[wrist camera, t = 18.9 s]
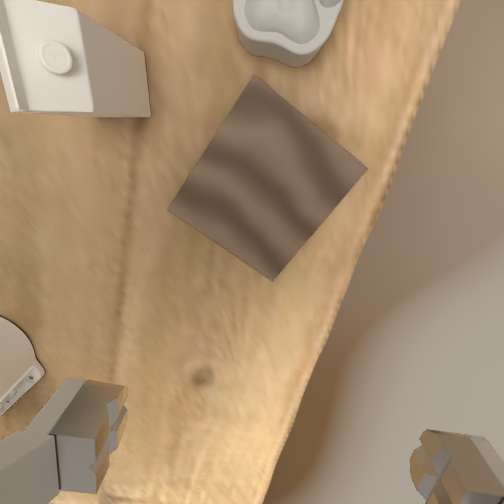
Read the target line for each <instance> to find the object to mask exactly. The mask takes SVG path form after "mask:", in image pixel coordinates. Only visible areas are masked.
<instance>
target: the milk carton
mask: <svg viewBox="0 0 504 504" xmlns="http://www.w3.org/2000/svg"><path fill="white" fill-rule="evenodd" d="M0 72H1V76H2V79H3V83H4V87H5V91H6V95H7V99H8V103H9V107H10V110H11V112H17V113H33V114H50V115H66V116H82V117H151V111H150V101H149V92H148V83H147V74H146V64H145V56H144V52H143V51H141V50H139V49H138V48H136V47H135V46H133V45H132V44H130V43H128V42H127V41H125V40H124V39H122V38H121V37H119V36H117V35H116V34H114V33H113V32H111V31H110V30H108V29H107V28H105V27H103V26H102V25H100V24H99V23H97V22H96V21H94V20H92V19H91V18H89V17H88V16H86V15H85V14H83V13H81V12H80V11H78V10H76V9H75V8H71V7H66V6H61V5H56V4H51V3H46V2H41V1H36V0H0Z"/></svg>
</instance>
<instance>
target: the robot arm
mask: <svg viewBox="0 0 504 504" xmlns="http://www.w3.org/2000/svg"><path fill="white" fill-rule="evenodd" d="M44 374H45V371H44V369H43V368H42V366H41V365H40V363H39V362H38V361H37V359H36V357H35V353H34V349H33V347H32V345H31V343H30V341H29V339H28V338H27V336H26V335H25V334H24V333H23V332H22V331H21V330H20V329H19V328H18V327H17V326H15V325H14V324H13V323H11V322H9V321H8V320H6V319H4V318H2V317H0V415H2V414H3V413H4V412H5V411H6V410H7V409H8V408H9V407H11V406H12V405H13V404H14V403H15V402H16V401H17V400H18V399H19V398H20V397H21V396H22V395H23V394H24V393H26V392H27V391H28V390H29V389H30V388H31V387H32V386H33V385H34V384H35V383H36V382H37V381H38V380H39V379H41V378H42V377H43V376H44ZM127 397H128V395H127V387H126V386H121V385H115V384H109V383H103V382H98V381H92V380H84V379H78V378H72V377H69V378H67V379H66V380H64V381H63V382H62V383H61V385H60V386H59V387H58V388H57V390H56V391H55V392H54V393H53V395H52V396H51V397H50V399H49V400H48V401H47V402H46V404H45V405H44V406H43V407H42V409H41V410H40V411H39V413H38V414H37V415H36V416H35V418H34V419H33V420H32V421H31V423H30V424H29V425H28V426H27V428H26V429H25V430H24V431H16V432H14V433H12V434H10V435H9V436H7V437H5V438H3V439H2V440H0V504H48V503H49V502H50V501H51V500H52V499H53V498H54V497H56V496H57V495H58V494H59V490H60V491H70V492H80V493H90V494H97V492H98V490H99V487H100V485H101V483H102V481H103V479H104V476H105V474H106V472H107V470H108V468H109V454H111V453H112V452H113V451H115V450H116V449H117V448H118V445H119V443H120V441H121V438H122V435H123V432H124V429H125V426H126V420H127V409H126V407H125V406H124V403H125V401H126V399H127ZM420 441H421V444H422V445H421V446H420V447H418V448H417V449H415V450H414V451H413V453H412V455H411V458H410V473H411V477H412V481H413V483H414V486H415V488H416V490H417V491H418V492H419V493H420V494H421V495H422V496H423V497H424V498H425V499H426V503H425V504H504V461H503V460H502V459H501V457H500V456H499V454H498V453H497V452H496V450H495V449H494V448H493V446H492V445H491V444H490V442H489V441H488V440H486V439H485V438H484V437H481V436H473V435H466V434H459V433H452V432H445V431H437V430H429V429H427V430H425V431H424V432H423V433H422V435H421V437H420Z"/></svg>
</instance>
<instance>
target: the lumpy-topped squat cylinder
mask: <svg viewBox="0 0 504 504" xmlns="http://www.w3.org/2000/svg"><path fill="white" fill-rule="evenodd" d="M343 2H344V0H233V15H234V19H235V23H236V27H237V31H238V35H239V39H240V42H241V44H242V46H243V47H244V49H245V50H246V51H247V52H248V53H250V54H252V55H255V56H260V57H268V58H272V59H275V60H277V61H279V62H281V63H283V64H285V65H287V66H290V67H295V68H296V67H301V66H304V65H306V64H307V63H308V62H310V61H311V60H312V59H313V58H314V57H315V55H316V54H317V53H318V51H319V50H320V49H321V47H322V46H323V44H324V43H325V42H326V40H327V39H328V37H329V36H330V34H331V32H332V30H333V28H334V25H335V23H336V20H337V18H338V15H339V13H340V10H341V8H342V5H343Z"/></svg>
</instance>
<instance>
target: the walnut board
mask: <svg viewBox="0 0 504 504" xmlns="http://www.w3.org/2000/svg"><path fill="white" fill-rule="evenodd" d="M367 169H368V168H367V167H366V166H365V165H363V164H362V163H361V162H360V161H358V160H357V159H356V158H355V157H354V156H352V155H351V154H350V153H349V152H348V151H346V150H345V149H344V148H343V147H341V146H340V145H339V144H338V143H337V142H335V141H334V140H333V139H332V138H331V137H329V136H328V135H327V134H326V133H324V132H323V131H322V130H321V129H320V128H318V127H317V126H316V125H315V124H314V123H312V122H311V121H310V120H309V119H307V118H306V117H305V116H304V115H303V114H301V113H300V112H299V111H298V110H297V109H295V108H294V107H293V106H292V105H290V104H289V103H288V102H287V101H286V100H284V99H283V98H282V97H281V96H280V95H278V94H277V93H276V92H275V91H273V90H272V89H271V88H270V87H269V86H267V85H266V84H265V83H264V82H263V81H261V80H260V79H259V78H258V77H256V76H255V75H253V77H252V79H251V80H250V82H249V83H248V85H247V86H246V88H245V89H244V91H243V93H242V94H241V96H240V97H239V99H238V100H237V102H236V103H235V105H234V107H233V108H232V110H231V111H230V113H229V114H228V116H227V117H226V119H225V121H224V122H223V124H222V125H221V127H220V128H219V130H218V131H217V133H216V135H215V136H214V138H213V139H212V141H211V142H210V144H209V145H208V147H207V149H206V150H205V152H204V153H203V155H202V156H201V158H200V159H199V161H198V163H197V164H196V166H195V167H194V169H193V170H192V172H191V173H190V175H189V177H188V178H187V180H186V181H185V183H184V184H183V186H182V187H181V189H180V191H179V192H178V194H177V195H176V197H175V198H174V200H173V201H172V203H171V205H170V206H169V208H168V209H167V210H168V211H169V212H171V213H172V214H174V215H175V216H177V217H178V218H180V219H181V220H182V221H184V222H185V223H187V224H188V225H190V226H191V227H193V228H194V229H196V230H197V231H199V232H200V233H202V234H203V235H205V236H206V237H208V238H209V239H211V240H212V241H214V242H215V243H216V244H218V245H219V246H221V247H222V248H224V249H225V250H227V251H228V252H230V253H231V254H233V255H234V256H236V257H237V258H239V259H240V260H242V261H243V262H245V263H246V264H247V265H249V266H250V267H252V268H253V269H255V270H256V271H258V272H259V273H261V274H262V275H264V276H265V277H267V278H268V279H270V280H271V281H273V280H274V279H275V278H276V277H277V276H278V274H279V273H280V272H281V271H282V270H283V269H284V267H285V266H286V265H287V264H288V263H289V261H290V260H291V259H292V258H293V257H294V256H295V254H296V253H297V252H298V251H299V250H300V248H301V247H302V246H303V245H304V244H305V243H306V241H307V240H308V239H309V238H310V237H311V235H312V234H313V233H314V232H315V231H316V230H317V228H318V227H319V226H320V225H321V224H322V222H323V221H324V220H325V219H326V218H327V217H328V215H329V214H330V213H331V212H332V211H333V209H334V208H335V207H336V206H337V205H338V204H339V202H340V201H341V200H342V199H343V198H344V197H345V195H346V194H347V193H348V192H349V191H350V189H351V188H352V187H353V186H354V185H355V184H356V182H357V181H358V180H359V179H360V178H361V176H362V175H363V174H364V173H365V172H366V171H367Z"/></svg>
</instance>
